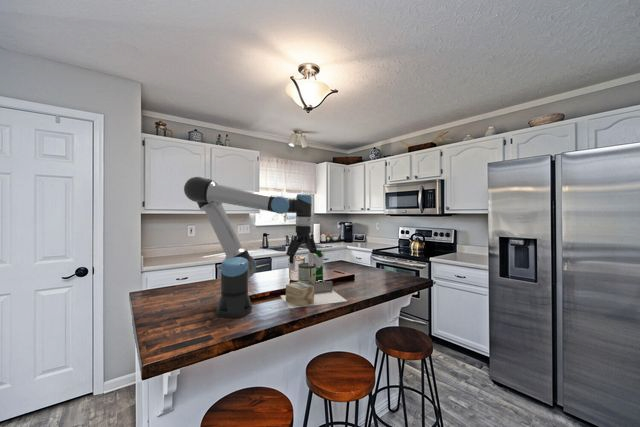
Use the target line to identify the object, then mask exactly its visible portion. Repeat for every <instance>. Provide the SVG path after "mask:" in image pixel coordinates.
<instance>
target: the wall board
mask: <svg viewBox="0 0 640 427" xmlns="http://www.w3.org/2000/svg"><path fill="white" fill-rule="evenodd" d="M280 297H281V299H282V300H283V301H284V303H285V304H286V305H287V307H288V308H289V309H295V308H296V309H297V308H304V307H310V306H311V307H312V306H319V305H326V304H335V303H342V302H348V300H347V299H346V298H344V297H343V296H341V295H340V294H338V293H337V292H336V291H334V290H333V289H332V292H323V293H314V303H312V304H309V305H306V306H303V307H301V306H299V305H296V304H293V303H291V302H288V301H286V294H285V295H284V294H282V295H280Z"/></svg>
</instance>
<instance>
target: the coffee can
mask: <svg viewBox="0 0 640 427" xmlns="http://www.w3.org/2000/svg"><path fill="white" fill-rule="evenodd" d="M297 266H298V276H297V277H298V278H297V279H298V280H297V282H301V283H305V282H307V283H315V282H316V264H314V263H313V266H309V265H308V262H301V263H298V264H297Z"/></svg>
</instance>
